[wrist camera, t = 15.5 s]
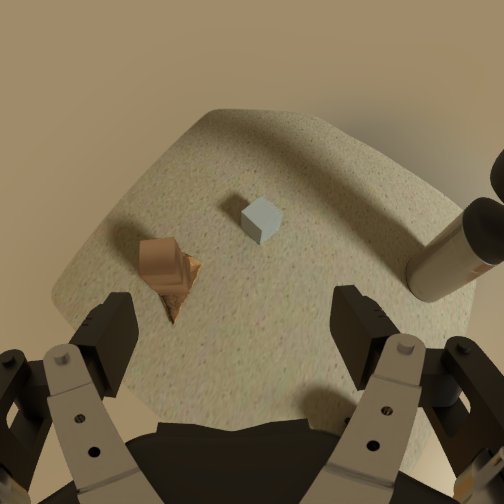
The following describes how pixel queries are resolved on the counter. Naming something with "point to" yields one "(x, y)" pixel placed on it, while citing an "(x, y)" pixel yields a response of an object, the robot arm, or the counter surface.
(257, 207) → the grey-blue block
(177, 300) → the shard
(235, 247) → the counter surface
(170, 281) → the walnut block
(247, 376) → the counter surface
